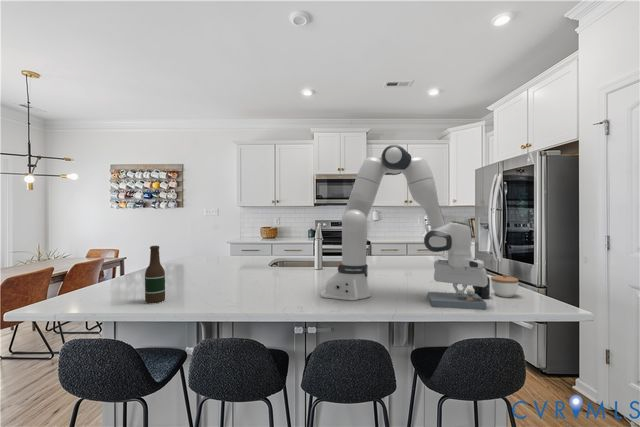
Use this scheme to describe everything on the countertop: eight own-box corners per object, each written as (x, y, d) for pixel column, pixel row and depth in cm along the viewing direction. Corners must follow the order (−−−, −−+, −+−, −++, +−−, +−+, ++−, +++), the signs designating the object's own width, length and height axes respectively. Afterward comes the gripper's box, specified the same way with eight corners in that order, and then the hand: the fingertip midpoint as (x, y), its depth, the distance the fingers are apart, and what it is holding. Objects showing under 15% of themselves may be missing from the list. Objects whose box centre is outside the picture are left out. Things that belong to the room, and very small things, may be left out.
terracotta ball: (465, 298, 129) (473, 303, 127) (469, 294, 130) (477, 299, 129) (463, 303, 131) (470, 308, 129) (467, 298, 133) (474, 303, 131)
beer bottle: (169, 300, 141) (168, 245, 141) (153, 305, 134) (152, 247, 134) (156, 298, 144) (156, 244, 144) (140, 302, 137) (140, 246, 137)
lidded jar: (492, 297, 142) (492, 276, 142) (489, 291, 152) (489, 271, 152) (520, 299, 138) (520, 277, 138) (516, 293, 148) (516, 273, 148)
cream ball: (467, 295, 135) (467, 288, 135) (465, 293, 138) (465, 286, 138) (475, 296, 134) (475, 288, 134) (473, 294, 137) (473, 286, 137)
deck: (431, 306, 128) (431, 300, 128) (427, 297, 142) (427, 291, 142) (486, 309, 124) (486, 302, 124) (476, 299, 138) (476, 293, 138)
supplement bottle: (492, 299, 138) (491, 271, 138) (474, 298, 139) (474, 271, 139) (487, 295, 145) (486, 268, 145) (470, 294, 146) (470, 268, 146)
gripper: (431, 260, 136) (431, 292, 136) (485, 264, 124) (485, 300, 124) (436, 258, 141) (436, 289, 141) (488, 262, 129) (488, 296, 129)
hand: (459, 294), depth 132 cm, fingers closed
